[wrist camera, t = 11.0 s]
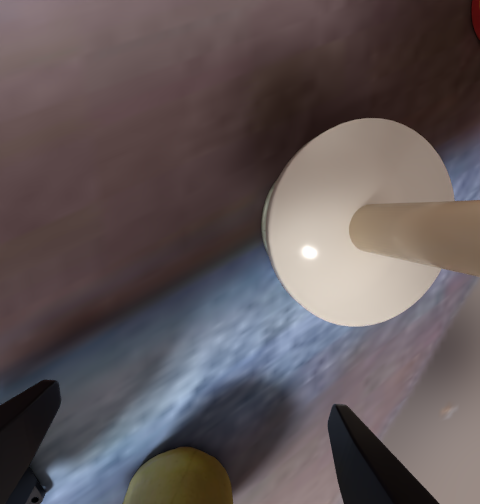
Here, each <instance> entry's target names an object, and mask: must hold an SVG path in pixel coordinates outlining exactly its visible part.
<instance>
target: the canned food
mask: <svg viewBox="0 0 480 504" xmlns="http://www.w3.org/2000/svg"><path fill="white" fill-rule="evenodd" d="M471 13H472V22H473V26H474V30H475V32H476V35H477V37H478V39H479V40H480V0H472V11H471Z"/></svg>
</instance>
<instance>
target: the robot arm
mask: <svg viewBox="0 0 480 504" xmlns="http://www.w3.org/2000/svg"><path fill="white" fill-rule="evenodd" d="M60 404H61V395H60V388H59V383H58V381H56V380H43V381H41V382H39V383H37V384H35V385H34V386H32V387H30V388H29V389H27V390H25V391H24V392H22V393H20V394H19V395H17V396H15V397H14V398H12V399H10V400H9V401H7V402H5V403H4V404H2V405H0V504H40V503H41V502H42V501H43V498H44V496H45V491H44V490H43V488H42V486H41V485H40V483H39V482H38V480H37V479H36V477H35V475H34V474H33V472H32V471H31V469H30V467H29V464H30V463H31V461H32V459H33V457H34V456H35V454H36V452H37V450H38V448H39V446H40V444H41V442H42V440H43V438H44V436H45V434H46V432H47V431H48V429H49V427H50V425H51V423H52V421H53V419H54V417H55V415H56V413H57V411H58V409H59V407H60ZM328 432H329V437H330V443H331V448H332V453H333V458H334V464H335V469H336V474H337V479H338V484H339V488H340V491H341V495H342V499H343V502H344V504H439V503H438V502H437V500H436V499H434V497H433V496H432V495H431V494H430V493H429V492H428V491H427V490H426V489H425V488H424V487H423V486H422V485H421V484H420V483H419V481H418V480H417V479H416V478H415V477H414V476H413V475H412V474H411V473H410V472H409V471H408V470H407V469H406V468H405V466H404V465H403V464H402V463H401V462H400V461H399V460H398V459H397V458H396V457H395V456H394V455H393V454H392V453H391V452H390V451H389V450H388V448H386V446H385V445H384V444H383V443H382V442H381V441H380V440H379V439H378V438H377V437H376V436H375V435H374V434H373V433H372V431H371V430H370V429H369V428H368V427H367V426H366V425H365V424H364V423H363V422H362V421H361V420H360V419H359V418H358V417H357V416H356V415H355V413H354V412H353V411H352V410H351V409H350V408H349V407H348V406H346V405H344V404H334V405H333V406H332V409H331V413H330V416H329V420H328ZM37 497H38V498H37Z"/></svg>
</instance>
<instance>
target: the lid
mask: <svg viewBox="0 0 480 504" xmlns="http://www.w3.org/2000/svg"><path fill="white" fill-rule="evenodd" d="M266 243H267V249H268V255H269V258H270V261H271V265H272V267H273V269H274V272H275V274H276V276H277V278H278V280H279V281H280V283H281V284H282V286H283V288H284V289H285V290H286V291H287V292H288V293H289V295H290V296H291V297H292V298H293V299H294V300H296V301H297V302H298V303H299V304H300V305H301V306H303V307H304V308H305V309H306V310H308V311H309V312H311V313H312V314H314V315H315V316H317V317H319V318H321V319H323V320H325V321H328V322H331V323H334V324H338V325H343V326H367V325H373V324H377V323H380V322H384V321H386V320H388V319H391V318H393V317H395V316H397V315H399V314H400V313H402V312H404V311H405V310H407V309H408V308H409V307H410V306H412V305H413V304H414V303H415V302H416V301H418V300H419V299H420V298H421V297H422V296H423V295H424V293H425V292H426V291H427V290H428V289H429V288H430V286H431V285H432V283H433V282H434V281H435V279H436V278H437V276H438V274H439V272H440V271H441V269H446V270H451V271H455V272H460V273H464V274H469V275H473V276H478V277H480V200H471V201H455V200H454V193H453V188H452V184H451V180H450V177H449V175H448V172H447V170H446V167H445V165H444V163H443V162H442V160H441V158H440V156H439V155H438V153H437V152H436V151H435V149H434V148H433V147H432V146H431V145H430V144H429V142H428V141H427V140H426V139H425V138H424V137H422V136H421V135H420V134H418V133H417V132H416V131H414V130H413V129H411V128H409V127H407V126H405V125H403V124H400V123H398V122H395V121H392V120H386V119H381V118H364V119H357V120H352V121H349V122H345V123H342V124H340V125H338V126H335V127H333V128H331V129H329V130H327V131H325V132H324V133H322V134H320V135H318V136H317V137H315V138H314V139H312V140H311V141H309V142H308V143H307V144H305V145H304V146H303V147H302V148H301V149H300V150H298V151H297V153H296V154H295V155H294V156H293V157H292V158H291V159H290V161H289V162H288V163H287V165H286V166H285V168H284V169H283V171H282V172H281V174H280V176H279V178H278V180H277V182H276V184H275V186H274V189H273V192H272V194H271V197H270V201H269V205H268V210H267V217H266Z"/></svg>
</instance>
